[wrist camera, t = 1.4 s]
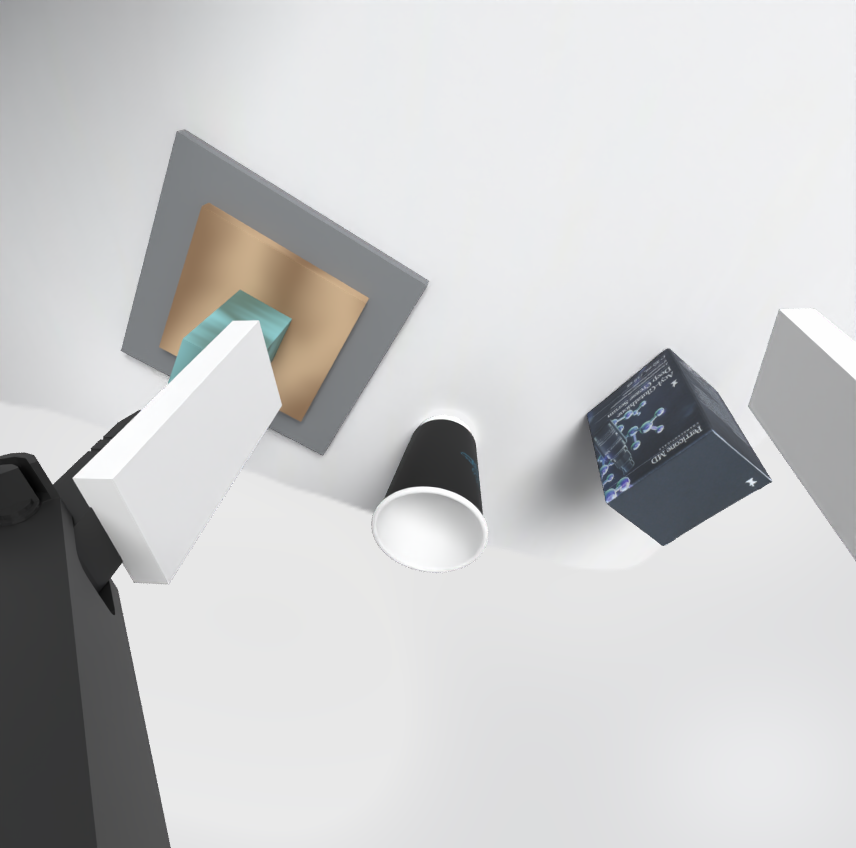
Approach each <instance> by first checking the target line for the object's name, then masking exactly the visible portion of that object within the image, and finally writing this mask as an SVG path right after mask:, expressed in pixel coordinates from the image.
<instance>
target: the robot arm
mask: <svg viewBox="0 0 856 848" xmlns="http://www.w3.org/2000/svg"><path fill="white" fill-rule="evenodd" d="M281 406H282V403H281V400H280V396H279V392H278V388H277V385H276V381H275V377H274V374H273V370H272V366H271V363H270V359H269V355H268V351H267V348H266V344H265V340H264V337H263V333H262V329H261V326H260V322H259V320H250V321H232V322H231V323H230V324H229V325H228V326H227V327H226V328H225V329H224V330H223V331H222V332H221V333H220V334H219V335H218V336H217V337H216V338H215V339H214V340H213V341H212V342H211V343H210V344H209V345H208V346H207V347H206V348H205V349H204V350H202V351H201V352H200V353H199V354H198V355H197V356H196V357H195V358H194V359H193V360H192V361H191V362H190V363H189V364H188V365H187V366H186V367H185V368H184V369H183V370H182V371H181V372H180V373H179V374H178V375H177V376H176V377H175V378H174V379H173V380H172V381H171V382H170V383H169V384H168V385H167V386H166V387H165V388H164V389H163V390H162V391H161V392H160V393H159V394H158V395H157V396H156V397H155V398H154V399H153V400H152V401H150V402H149V403H148V404H147V405H146V406H145V407H144V408H143V409H142V410H139V411H137V412H135V413H134V414H132V415H130V416H128V417H127V418H125V419H123V420H122V421H120V422H118V423H117V424H116V425H115V426H114V427H113V428H112V429H111V430H110V431H109V432H108V433H107V434H106V435H105V436H104V437H103V440H99V441H98V443H96V444H95V445H94V446H93V447H92V448H91V451H88V452H87V453H86V454H85V455H84V456H83V457H82V458H80V459H79V460H78V461H77V462H76V463H75V464H74V465H73V466H72V467H71V468H70V469H69V470H68V471H67V472H66V473H65V474H64V475H63V476H62V477H61V478H60V479H58V480H57V481H56V482H55V483H54V484H53V485H52V483H51V481H50V480H49V478H48V477H47V475H46V473H45V472H44V470H43V469H42V467H41V465H40V464H39V462H38V461H37V459H36V457H35V456H34V455H31V454H28V453H11V454H7V455H3V456H0V848H171V847H170V842H169V838H168V833H167V828H166V823H165V818H164V813H163V808H162V804H161V798H160V794H159V789H158V784H157V779H156V774H155V769H154V764H153V759H152V755H151V750H150V745H149V740H148V735H147V730H146V725H145V721H144V715H143V711H142V705H141V701H140V696H139V691H138V686H137V682H136V676H135V671H134V666H133V662H132V657H131V652H130V647H129V642H128V637H127V632H126V627H125V622H124V617H123V613H122V608H121V603H120V598H119V593H118V589H117V587H116V586H115V584H114V583H113V581H112V579H111V577H112V575H113V574H114V573H115V571H116V570H117V569H118V567H119V566H120V565H121V563H123V565H124V566H125V568H126V570H127V571H128V573H129V575H130V577H131V578H132V580H133V582H134V583H153V584H169V583H170V582H171V580H172V579H173V577H174V576H175V574H176V572H177V571H178V569H179V568H180V566H181V564H182V563H183V561H184V560H185V558H186V556H187V555H188V553H189V552H190V550H191V548H192V547H193V545H194V544H195V542H196V541H197V539H198V538H199V536H200V534H201V533H202V531H203V530H204V528H205V527H206V525H207V523H208V522H209V520H210V518H211V517H212V515H213V514H214V512H215V511H216V509H217V508H218V506H219V504H220V503H221V501H222V500H223V498H224V496H225V495H226V493H227V492H228V490H229V489H230V487H231V485H232V484H233V482H234V481H235V479H236V478H237V476H238V474H239V473H240V471H241V470H242V468H243V466H244V465H245V463H246V462H247V460H248V459H249V457H250V455H251V454H252V452H253V451H254V449H255V447H256V446H257V444H258V443H259V441H260V440H261V438H262V436H263V435H264V433H265V432H266V430H267V428H268V427H269V425H270V424H271V422H272V421H273V419H274V417H275V416H276V414H277V413H278V411H279V410H280V408H281ZM748 407H749V408H750V410H751V411H752V413H753V414H754V416H755V417H756V418H757V420H758V421H759V423H760V424H761V426H762V427H763V429H764V430H765V431H766V433H767V434H768V436H769V437H770V439H771V440H772V441H773V443H774V444H775V446H776V447H777V449H778V450H779V451H780V453H781V454H782V456H783V457H784V459H785V460H786V462H787V463H788V464H789V466H790V467H791V469H792V470H793V471H794V473H795V474H796V476H797V477H798V479H799V480H800V482H801V483H802V485H803V486H804V487H805V489H806V490H807V492H808V493H809V495H810V496H811V497H812V499H813V500H814V502H815V503H816V505H817V506H818V508H819V509H820V510H821V512H822V513H823V514H824V516H825V518H826V519H827V520H828V522H829V523H830V525H831V526H832V528H833V529H834V530H835V532H836V533H837V535H838V536H839V538H840V539H841V541H842V542H843V543H844V545H845V546H846V548H847V549H848V551H849V552H850V553H851V555H852V556H853V558H854V559H855V561H856V342H854V341H853V340H852V339H851V338H850V337H848V336H847V335H846V334H845V333H843V332H842V331H841V330H840V329H839V328H837V327H836V326H835V325H834V324H832V323H831V322H830V321H829V320H827V319H826V318H825V317H824V316H823V315H821V314H820V313H819V312H818V311H816V310H815V309H779V311H778V314H777V317H776V321H775V324H774V327H773V330H772V333H771V336H770V339H769V342H768V346H767V349H766V352H765V355H764V358H763V361H762V364H761V368H760V371H759V374H758V377H757V380H756V383H755V386H754V389H753V393H752V396H751V399H750V402H749V405H748Z"/></svg>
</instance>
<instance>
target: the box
mask: <svg viewBox="0 0 856 848" xmlns="http://www.w3.org/2000/svg"><path fill="white" fill-rule="evenodd" d="M587 417H588V422H589V427H590V431H591V436H592V440H593V445H594V449H595V454H596V459H597V463H598V468H599V472H600V477H601V482H602V486H603V491H604V495H605V501H606V503H607V504H608V505H609V506H610V507H612V508H613V509H614V510H616V511H617V512H618V513H620V514H621V515H622V516H624V517H625V518H626V519H628V520H629V521H630V522H632V523H633V524H634V525H636V526H637V527H638V528H640V529H641V530H642V531H644V532H645V533H647V534H648V535H649V536H650V537H652V538H653V539H654V540H656V541H657V542H658V543H659V544H661V545H662V546H665V545H667V544H669V543H670V542H672V541H674V540H675V539H676V538H678V537H679V536H680V535H682V534H683V533H685V532H687V531H689V530H690V529H692V528H694V527H695V526H697V525H699V524H700V523H702V522H704V521H705V520H707V519H708V518H710V517H712V516H714V515H715V514H717V513H718V512H720V511H722V510H724V509H726V508H727V507H728V506H731V505H732V504H734V503H736V502H737V501H739V500H741V499H743V498H744V497H746V496H748V495H749V494H751V493H753V492H754V491H757V490H759V489H761V488H762V487H764V486H765V485H767V484H769V483H771V482H772V480H771V478H770V477H769V475H768V473H767V472H766V470H765V468H764V467H763V465H762V464H761V462H760V460H759V459H758V457H757V456H756V454H755V452H754V451H753V449H752V447H751V446H750V444H749V442H748V441H747V439H746V437H745V436H744V434H743V433H742V431H741V429H740V428H739V426H738V424H737V423H736V421H735V419H734V418H733V416H732V414H731V413H730V411H729V410H728V408H727V406H726V405H725V403H724V401H723V400H722V398H721V397H720V395H719V394H718V392H717V391H716V390H715V389H714V388H713V387H712V386H711V385H710V384H708V383H707V382H706V381H705V380H704V379H703V378H702V377H701V376H700V375H699V374H697V373H696V372H695V371H694V370H693V369H692V368H691V367H690V366H688V365H687V364H686V363H685V362H684V361H683V360H682V359H680V358H679V357H678V356H677V355H676V354H675V353H674V352H673V351H672V350H671V349H666V350H665V351H664V352H663V353H661V354H660V355H659V356H658V357H657V358H655V359H654V360H653V361H651V362H650V363H649V364H648V365H647V366H645V367H644V368H643V369H642V370H641V371H639V372H638V373H637V374H636V375H634V376H633V377H632V378H631V379H630V380H629V381H627V382H626V383H625V384H624V385H622V386H621V387H620V388H619V389H617V390H616V391H615V392H614V393H612V394H611V395H610V396H609V397H608V398H606V399H605V400H604V401H602V402H601V403H600V404H599V405H598V406H597V407H595V408H594V409H593V410H591V411H590V412H589V413H588V414H587Z"/></svg>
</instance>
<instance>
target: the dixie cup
mask: <svg viewBox="0 0 856 848" xmlns="http://www.w3.org/2000/svg"><path fill="white" fill-rule="evenodd" d="M372 533H373V536H374V538H375V541H376V542H377V544H378V546H379V547H380V548H381V549H382V551H383V552H384V553H385V554H387V555H388V556H389V557H390V558H391V559H393V560H395V561H396V562H398V563H400V564H402V565H404V566H406V567H408V568H411V569H415V570H419V571H424V572H435V573H439V572H449V571H454V570H457V569H460V568H463V567H466V566H467V565H469V564H471V563H472V562H474V561H475V560H476V559H477V558H478V557H479V556H480V555H481V554H482V553H483V551H484V549H485V547H486V545H487V542H488V527H487V524H486V521H485V519H484V517H483V511H482V501H481V491H480V481H479V471H478V462H477V452H476V443H475V440H474V437H473V436H472V433H471V431H470V429H469V427H468V426H467V425H466V424H465V423H464V422H463V421H461V420H460V419H458V418H455V417H453V416H448V415H437V416H433V417H430V418H428V419H426V420H425V421H424V422H423V423H422V424H421V425H420V426H419V427H418V428H417V429H416V430H415V432H414V433H413V435H412V437H411V440H410V442H409V444H408V446H407V449H406V451H405V453H404V455H403V458H402V460H401V462H400V464H399V467H398V469H397V471H396V473H395V475H394V478H393V480H392V482H391V484H390V487H389V489H388V491H387V493H386V496H385V498H384V500H383V501H382V502H381V503H380V504H379V505H378V507H377V508H376V510H375V511H374V514H373V517H372Z"/></svg>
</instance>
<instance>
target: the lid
mask: <svg viewBox="0 0 856 848" xmlns="http://www.w3.org/2000/svg"><path fill="white" fill-rule="evenodd" d="M368 299H369V298H368V297H366V296H365V295H363V294H361V293H360V292H358V291H356V290H355V289H353V288H351V287H350V286H348V285H346V284H345V283H343V282H341V281H340V280H338V279H336V278H335V277H333V276H331V275H330V274H328V273H326V272H325V271H323V270H321V269H320V268H318V267H316V266H314V265H313V264H311V263H309V262H308V261H306V260H304V259H303V258H301V257H299V256H298V255H296V254H294V253H293V252H291V251H289V250H288V249H286V248H284V247H283V246H281V245H279V244H278V243H276V242H274V241H273V240H271V239H269V238H268V237H266V236H264V235H263V234H261V233H259V232H258V231H256V230H254V229H252V228H251V227H249V226H247V225H246V224H244V223H242V222H241V221H239V220H237V219H236V218H234V217H232V216H231V215H229V214H227V213H226V212H224V211H222V210H221V209H219V208H217V207H216V206H214V205H212V204H211V203H207V204H205V205H203V206H202V207H201V210H200V213H199V217H198V220H197V223H196V227H195V230H194V233H193V237H192V240H191V243H190V246H189V250H188V253H187V256H186V260H185V263H184V266H183V269H182V273H181V276H180V279H179V283H178V286H177V289H176V292H175V296H174V299H173V302H172V306H171V309H170V312H169V316H168V319H167V322H166V325H165V329H164V332H163V335H162V339H161V342H160V345H159V347H160V348H162V349H164V350H166V351H167V352H169V353H171V354H173V355H175V356H177V358H176V361H175V364H174V367H173V370H172V373H171V376H170V379H169V382H168V384H169V383H170V382H171V381H172V380H173V379H174V378H175V377H176V376H177V375H178V374H179V373H180V372H181V371H182V370H183V369H184V368H185V367H186V366H187V365H188V364H189V363H190V362H191V361H192V360H193V359H194V358H195V357H196V356H197V355H198V354H199V353H200V352H201V351H202V350H204V349H205V348H206V347H207V346H208V345H209V344H210V343H211V342H212V341H213V340H214V339H215V338H216V337H217V336H218V335H219V334H220V333H221V332H222V331H223V330H224V329H225V328H226V327H227V326H228V325H229V324H230V323H231V322H232V321H250V320H259V322H260V326H261V329H262V333H263V337H264V340H265V344H266V348H267V351H268V355H269V359H270V363H271V366H272V370H273V374H274V377H275V381H276V385H277V388H278V392H279V396H280V400H281V403H282V406H281V408H280V410H279V411H281V412H283V413H285V414H287V415H289V416H291V417H293V418H294V419H296V420H298V421H300V422H301V421H302V419H303V417H304V416H305V414H306V412H307V410H308V408H309V407H310V405H311V403H312V401H313V399H314V397H315V396H316V394H317V392H318V390H319V388H320V387H321V385H322V383H323V381H324V379H325V377H326V376H327V374H328V372H329V370H330V368H331V367H332V365H333V363H334V361H335V359H336V357H337V356H338V354H339V352H340V350H341V348H342V347H343V345H344V343H345V341H346V339H347V338H348V336H349V334H350V332H351V330H352V328H353V327H354V325H355V323H356V321H357V319H358V318H359V316H360V314H361V312H362V310H363V308H364V307H365V305H366V303H367V301H368Z"/></svg>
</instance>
